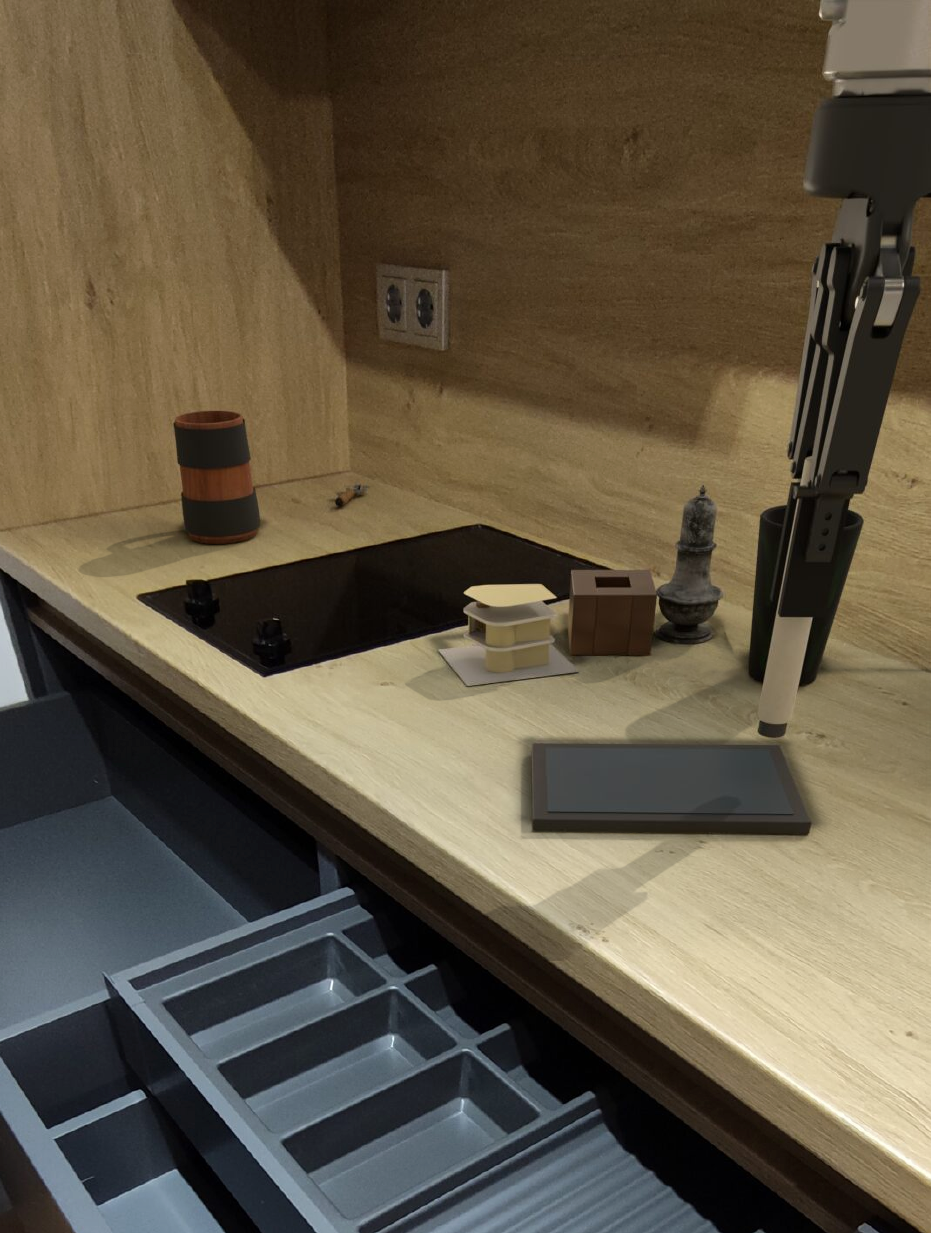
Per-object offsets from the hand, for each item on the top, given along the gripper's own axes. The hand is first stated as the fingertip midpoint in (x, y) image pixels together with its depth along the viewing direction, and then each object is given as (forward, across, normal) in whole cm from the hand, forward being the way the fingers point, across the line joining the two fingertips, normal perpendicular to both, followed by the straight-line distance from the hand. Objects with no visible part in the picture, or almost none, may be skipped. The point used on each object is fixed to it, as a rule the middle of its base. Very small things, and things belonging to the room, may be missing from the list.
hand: (797, 606), depth 68 cm
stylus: (+8, 0, 0) cm, 8 cm away
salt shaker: (+12, -32, -2) cm, 34 cm away
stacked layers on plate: (+13, -25, -18) cm, 33 cm away
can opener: (+12, -80, -38) cm, 89 cm away
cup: (+12, -22, +5) cm, 26 cm away
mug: (+13, -66, -52) cm, 85 cm away
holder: (+12, -30, -9) cm, 34 cm away
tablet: (+12, 0, -7) cm, 14 cm away
